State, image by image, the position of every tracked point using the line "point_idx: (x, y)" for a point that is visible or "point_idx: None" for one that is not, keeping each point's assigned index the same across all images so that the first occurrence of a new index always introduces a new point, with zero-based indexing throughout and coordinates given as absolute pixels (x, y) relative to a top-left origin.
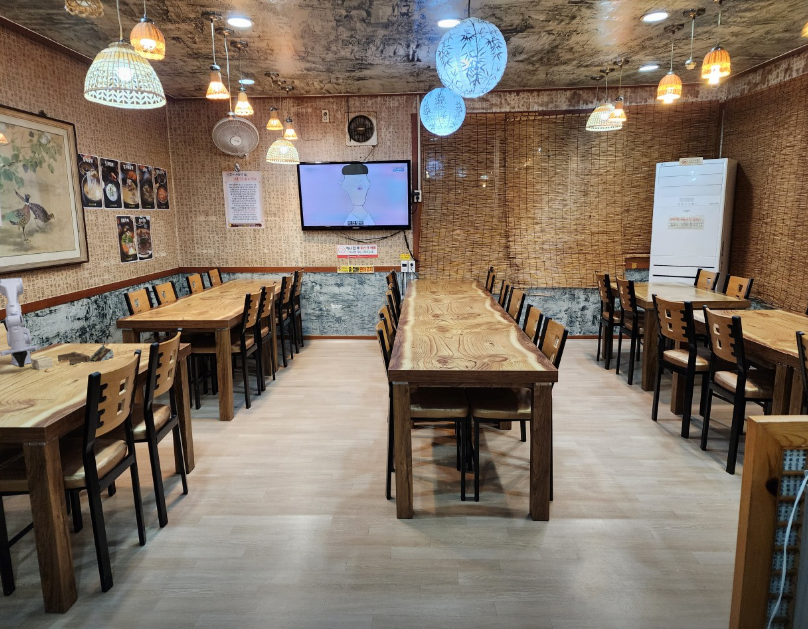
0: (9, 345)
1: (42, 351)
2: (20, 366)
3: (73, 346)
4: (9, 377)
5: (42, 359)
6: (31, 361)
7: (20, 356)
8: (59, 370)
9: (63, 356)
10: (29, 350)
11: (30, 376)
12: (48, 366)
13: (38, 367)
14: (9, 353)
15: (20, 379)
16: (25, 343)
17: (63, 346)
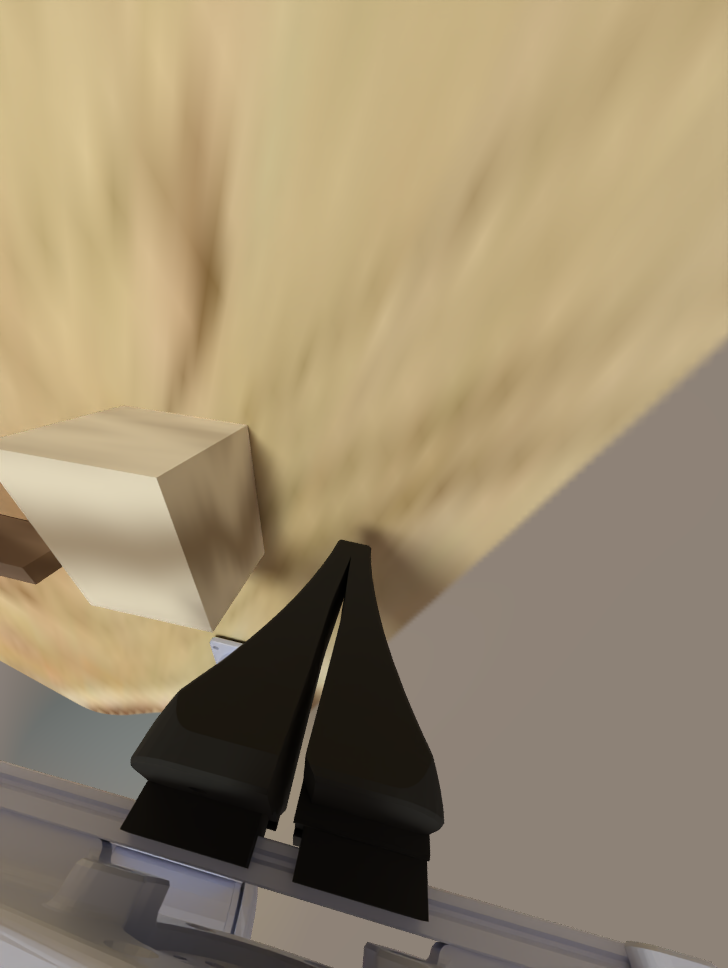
0: (250, 896)
1: (157, 707)
2: (369, 559)
3: (47, 672)
4: (568, 445)
5: (95, 484)
6: (230, 599)
7: (337, 701)
8: (28, 52)
9: (9, 548)
10: (73, 790)
11: (472, 148)
12: (145, 416)
13: (232, 449)
14: (508, 953)
15: (713, 64)
16: (130, 860)
17: (86, 695)
